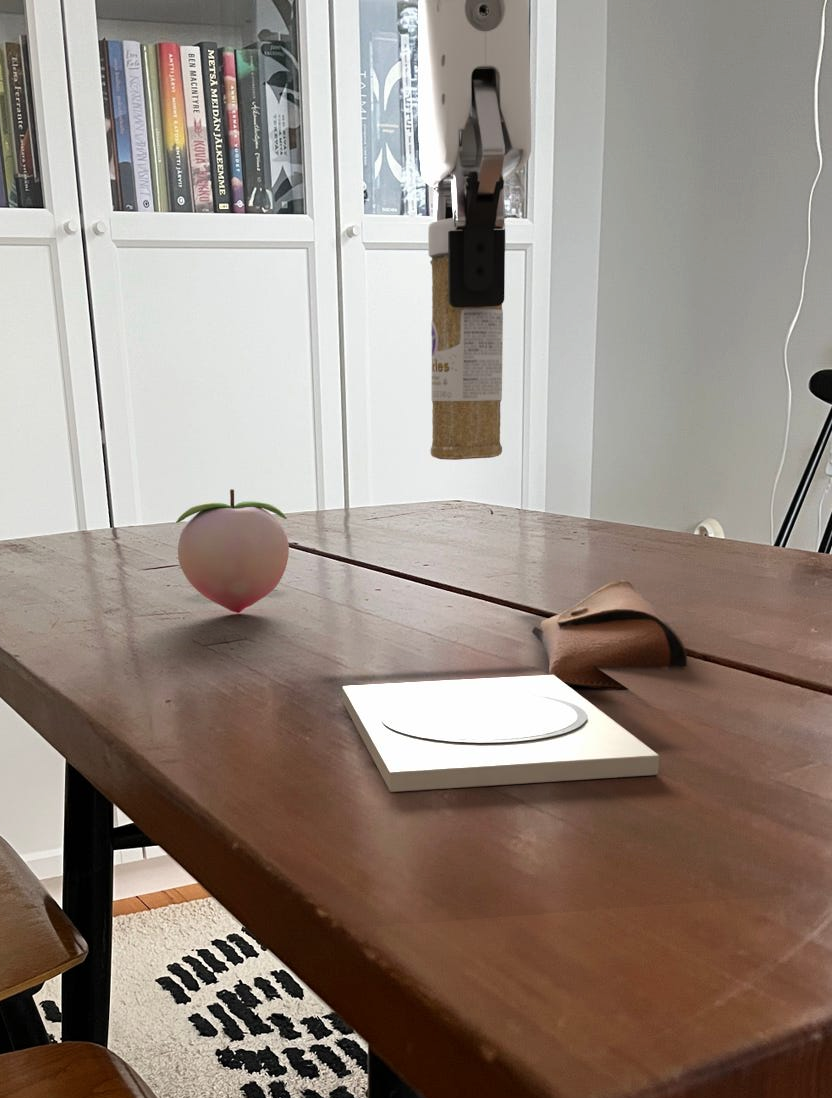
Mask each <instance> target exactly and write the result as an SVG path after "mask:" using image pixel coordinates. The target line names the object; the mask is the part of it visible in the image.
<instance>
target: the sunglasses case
mask: <svg viewBox="0 0 832 1098" xmlns="http://www.w3.org/2000/svg"><path fill="white" fill-rule="evenodd" d="M531 633H532V634H533V635H534V636H535V637H536V638H537V639H538V640H539V641H540V643H541V644H542V646H543V648H544V650H545V653H546V655H547V660H548V675H555V676H556V677H557V678H558V679H560V680H561V681H562V682H564V683H565V684H566V685H568V686H570V685H571V686H579V687H585V688H590V689H591V688H592V689H600V690H629V688H628V687H626V686H625V685H623V684H622V683H620V682H619V681H617V680H616V679H614V678H613V677H611V676H610V675H608V674H607V673H605V672H604V671H602V670H601V669H599V668H598V667H597V666H599V667H607V666H608V667H684V668H686V667H688V657H687V651H686V649H685V646H684V644H683V642H682V640H681V639H680V637H679V636H678V634H677V633H676V632H675V630H674V629H672V627H671V626H670V624H669V623H668V622H667V621H666V619H665V618H664V616H662V614H660V612H659V611H658V610H657V609H656V608H655V607H654V606H653V605H652V604H651V603H650V602H649V601H648V600H647V599H646V598H645V597H644V596H642V595H641V594H640V592H638V591H637V590H636V588H635V587H634V586H633V584H632V583H631V582H630V581H628V580H626V579H618V580H615V581H612V582H609V583H607V584H605V585H604V586H602V587H600V588H599V589H597V590H595V591H594V592H592V593H590V594H589V595H587V596H586V597H585V598H583V599H581V601H579V602H578V603H576V604H575V605H573V606H571V607H568V608H567V609H566V610H565V611H563V612H560V613H558V614H556V615H553V616H551V617H549V618H547V619H545V620H543V621H541V622H540V628H538V627H537V626H535V627H533V629H532V630H531Z"/></svg>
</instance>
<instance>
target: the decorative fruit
mask: <svg viewBox="0 0 832 1098" xmlns="http://www.w3.org/2000/svg"><path fill="white" fill-rule="evenodd" d="M229 497H230V501H229V502H230V503H229V504H227V503H224V502H207V503H201V504H197V505H194V506H192V507H190V508H188V509H186V511H184V512H183V513H182V514H181V515H179V517H178V518H177V520H176V524H178V523H180V522H182V521H184V520H185V519H186V518H188V517H190V516H192V517H190V519H189V520H188V521H187V522H186V524H184V527H183V528H182V529H181V533H180V535H179V539H178V544H177V559H178V563H179V567H180V569H181V571H182V573H183V575H184V576H185V578H186V580H187V581H188V582H189V584H190V585H191V586H192V587H193V588H194V589H195V590H196V591H197V592H198V593H199V594H201V596H203V597H204V598H206V599H208V600H209V601H210V602H212V603H215V604H217V605H218V606H220V607H222V608H224V609H227V610H229V611H230V612H234V613H237V614H240V613H241V612H242V611H244V610H245V609H246V608H249V607H252V606H253V605H254V604H256V603H258V602H259V601H260V600H262V599H264V598H265V597H267V596H268V595H270V594H271V592H273V591H274V590H275V589H276V588H277V586H278V585H279V583H280V582H281V580H282V577H283V576H284V573H285V571H286V568H287V565H288V560H289V553H290V543H289V537H288V533H287V532H286V530H285V528H284V526H283V525H282V524H281V523H280V522H279V520H278V519H277V518H276V517H275V516H274V515H273V514H275V515H277V516H278V517H280V518H282V519H285V520H287V519H288V518H287V517H286V516H285V514H284V513H283V511H282V510H280V509H279V508H278V507H276V506H274V505H273V504H269V503H266V502H262V501H256V500H248V501H247V500H246V501H241V502H238V503H237V504H235V489H234V488H233V489H232V488H231V489H230V490H229ZM270 512H271V513H270ZM272 513H273V514H272Z"/></svg>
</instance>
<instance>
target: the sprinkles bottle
mask: <svg viewBox="0 0 832 1098" xmlns="http://www.w3.org/2000/svg"><path fill="white" fill-rule="evenodd" d="M494 230H505V231H506V223H505V221H504V226H503V228H502V229H494ZM449 231H462V230H455V229H454V222H453V218H448V219H443V220H438V221H434V220H433V221H432V222H430V223H429V225H428V229H427V233H428V235H427V240H428V241H427V248H428V249H427V250H428V253H427V255H428V257H430V258H431V260H430V261H429V262H430V265H431V284H432V285H431V293H432V294H431V303H432V304H431V309H432V310H431V323H430V325H431V326H430V327H431V331H430V332H431V335H430V336H431V380H430V381H431V384H430V385H431V387H430V388H431V389H430V391H431V394H430V395H431V396H430V397H431V402H432V403H431V404H432V409H431V411H432V412H431V413H432V416H431V417H432V418H431V421H432V432H431V433H432V434H431V435H432V436H431V438H432V442H431V443H432V444H431V447H430V451H429V453H430V456H431V457H432V458H434V459H438V460H446V461H447V460H448V461H449V460H450V461H451V460H452V461H455V460H457V461H458V460H472V459H473V460H474V459H489V458H490V459H492V458H496V457H498V456H500V455H501V454H502V452H503V446H502V444H501V402H502V399H503V348H504V347H503V340H504V339H503V337H504V336H503V335H504V311H503V303H502V304H501V305H500V306H493V307H458V308H455V307H452V306H451V305H450V304H449V287H448V232H449Z"/></svg>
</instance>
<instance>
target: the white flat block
mask: <svg viewBox="0 0 832 1098" xmlns="http://www.w3.org/2000/svg"><path fill="white" fill-rule="evenodd" d="M341 688H342V689H341V693H342V695H341V697H342V703H343V706H344V708H345V709H346V711H347V713H348V715H349V716H350V718H351V720H352V723H353V724H354V726H355V728H356V730H357V732H358V733H359V736H360V737H361V739H362V741H363V743H364V745H365V747H366V749H367V750H368V753H369V754H370V756H371V758H372V760H373V762H374V765H376V767H377V770H378V772H379V773H380V776H381V777H382V779H383V781H384V783H385V784H386V786H387V789H388V790H389V792H390V793H400V792H416V791H429V790H445V789H447V790H448V789H461V788H462V789H463V788H479V787H493V786H494V787H495V786H509V785H523V784H524V785H525V784H538V783H540V784H541V783H554V782H570V781H584V780H585V781H586V780H601V779H618V777H619V778H633V777H649V776H658V775H659V765H660V755H659V754H658V753H656V752H655V751H654V750H653V749H651V748H650V747H649V746H648V745H647V744H645V743H644V742H643V741H641V740H640V739H638V738H637V737H636V736H635V735H633V734H632V733H631V732H629V731H628V730H626V729H625V728H624V727H623V726H621V725H620V724H619V723H618V722H616V721H615V720H613V719H612V718H611V717H610V716H608V715H607V714H606V713H605V712H603V711H602V710H600V709H599V708H597V706H595V705H594V704H592V702H590V701H589V700H587V698H585V697H584V696H582V695H581V694H579V693H578V692H577V691H576V690H575V689H573V688H572V687H570V685H569V684H565V683H564V682H562V681H561V680H560V679H558V678H557V677H556V676H555V675H549V674H545V675H544V674H541V675H525V676H508V677H506V676H505V677H489V678H488V677H487V678H486V677H485V678H470V679H469V678H468V679H467V678H466V679H449V680H433V681H432V680H431V681H414V682H397V683H396V682H395V683H378V684H376V683H375V684H360V685H359V684H358V685H357V684H356V685H343V686H342V687H341Z"/></svg>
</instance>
